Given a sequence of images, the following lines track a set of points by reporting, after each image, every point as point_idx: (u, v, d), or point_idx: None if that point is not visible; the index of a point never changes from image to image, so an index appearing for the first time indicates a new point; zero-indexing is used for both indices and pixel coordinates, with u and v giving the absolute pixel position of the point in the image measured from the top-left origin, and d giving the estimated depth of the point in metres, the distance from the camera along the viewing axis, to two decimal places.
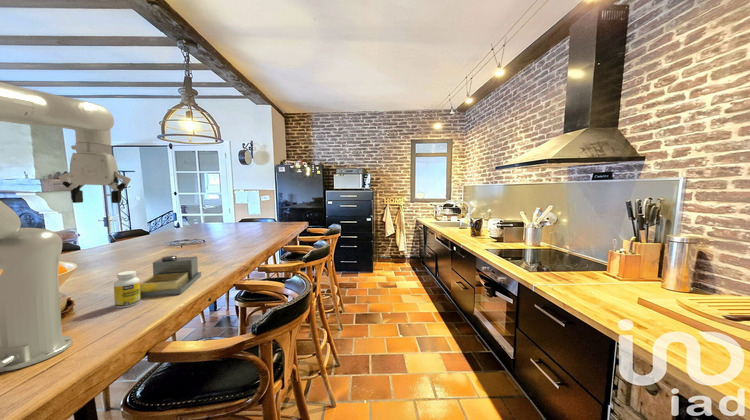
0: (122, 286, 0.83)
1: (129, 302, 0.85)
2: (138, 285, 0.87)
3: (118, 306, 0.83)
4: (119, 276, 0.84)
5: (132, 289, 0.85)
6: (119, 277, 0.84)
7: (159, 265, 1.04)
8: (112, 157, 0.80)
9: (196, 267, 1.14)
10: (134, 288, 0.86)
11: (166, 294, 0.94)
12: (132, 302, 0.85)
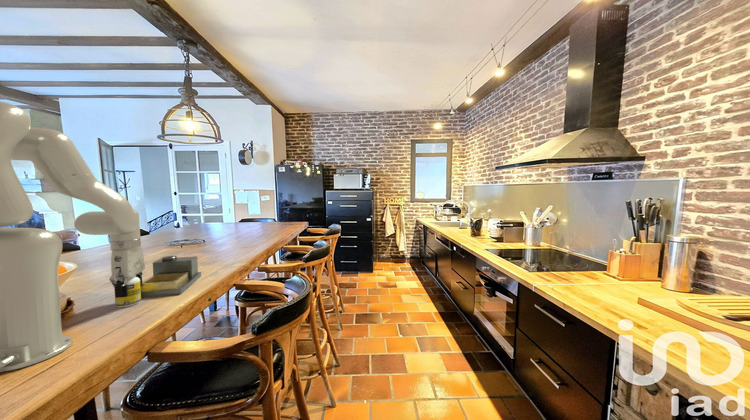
0: None
1: (130, 302, 0.85)
2: (138, 285, 0.87)
3: (118, 306, 0.84)
4: (120, 276, 0.84)
5: (133, 289, 0.86)
6: None
7: (159, 265, 1.04)
8: None
9: (196, 267, 1.14)
10: (135, 288, 0.86)
11: (166, 294, 0.94)
12: (133, 301, 0.86)
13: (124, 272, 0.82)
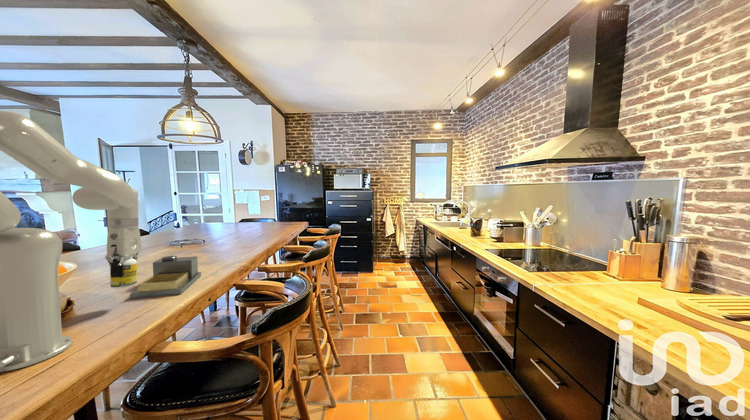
0: None
1: (125, 283, 0.83)
2: (135, 266, 0.86)
3: (113, 287, 0.82)
4: None
5: (129, 270, 0.84)
6: None
7: (159, 265, 1.04)
8: None
9: (196, 267, 1.14)
10: (131, 269, 0.84)
11: (166, 294, 0.94)
12: (129, 283, 0.84)
13: (120, 250, 0.81)
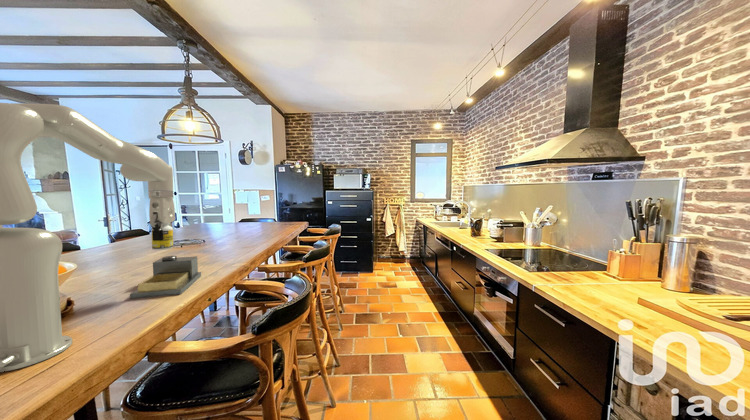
0: None
1: (165, 246, 0.97)
2: (172, 232, 0.99)
3: (155, 249, 0.95)
4: None
5: (167, 234, 0.97)
6: None
7: (159, 265, 1.04)
8: None
9: (196, 267, 1.14)
10: (169, 234, 0.98)
11: (166, 294, 0.94)
12: (167, 246, 0.97)
13: (160, 217, 0.93)
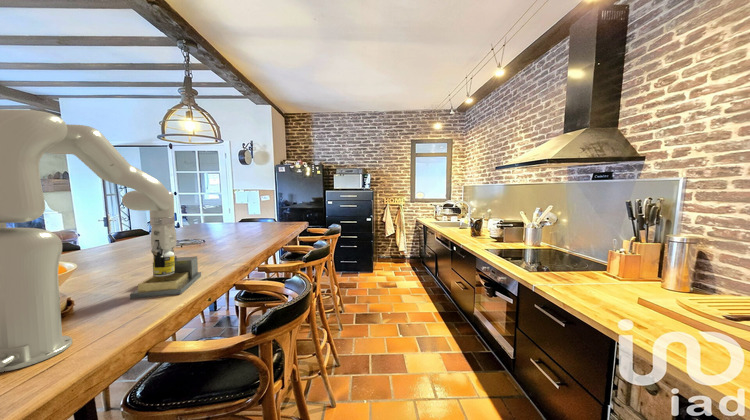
0: None
1: (166, 272, 0.98)
2: (173, 258, 1.00)
3: (157, 275, 0.96)
4: (158, 249, 0.97)
5: (169, 261, 0.98)
6: None
7: None
8: None
9: (196, 267, 1.14)
10: (170, 260, 0.99)
11: (166, 294, 0.94)
12: (169, 272, 0.98)
13: (162, 245, 0.94)
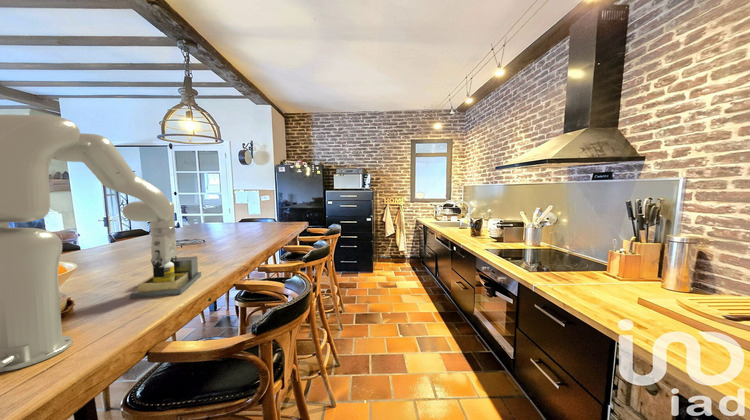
0: None
1: None
2: (173, 268, 1.00)
3: None
4: None
5: (169, 271, 0.98)
6: None
7: None
8: None
9: (196, 267, 1.14)
10: (170, 271, 0.99)
11: (166, 294, 0.94)
12: None
13: (162, 255, 0.95)
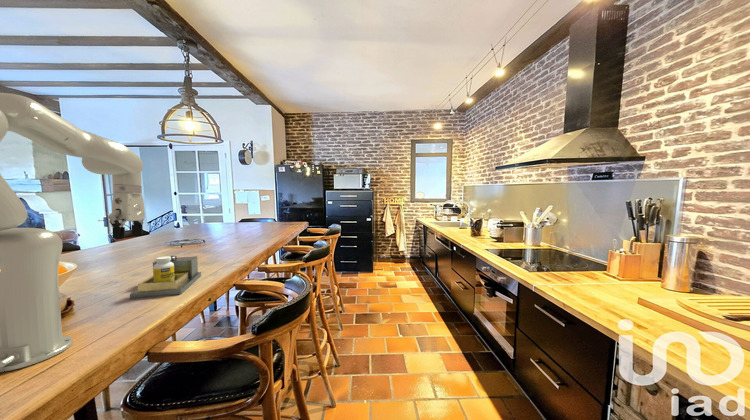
0: (161, 268, 0.96)
1: None
2: (173, 268, 1.00)
3: None
4: (158, 260, 0.97)
5: (169, 271, 0.98)
6: (158, 261, 0.97)
7: None
8: None
9: (196, 267, 1.14)
10: (170, 271, 0.99)
11: (166, 294, 0.94)
12: None
13: (124, 214, 0.85)
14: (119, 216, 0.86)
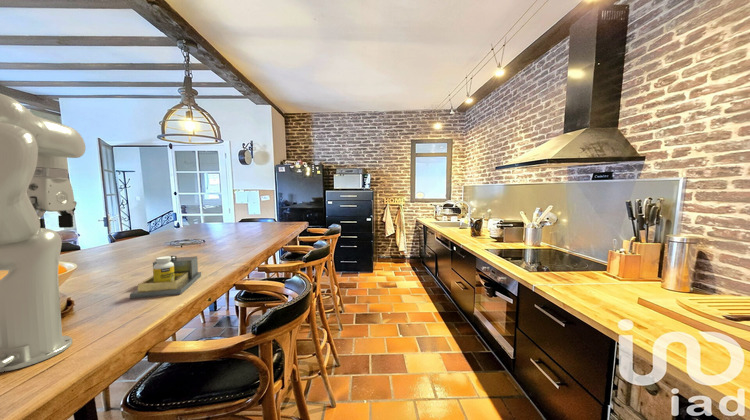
0: (161, 268, 0.96)
1: None
2: (173, 268, 1.00)
3: None
4: (158, 260, 0.97)
5: (169, 271, 0.98)
6: (158, 261, 0.97)
7: None
8: None
9: (196, 267, 1.14)
10: (170, 271, 0.99)
11: (166, 294, 0.94)
12: None
13: (41, 203, 0.70)
14: (36, 205, 0.71)
